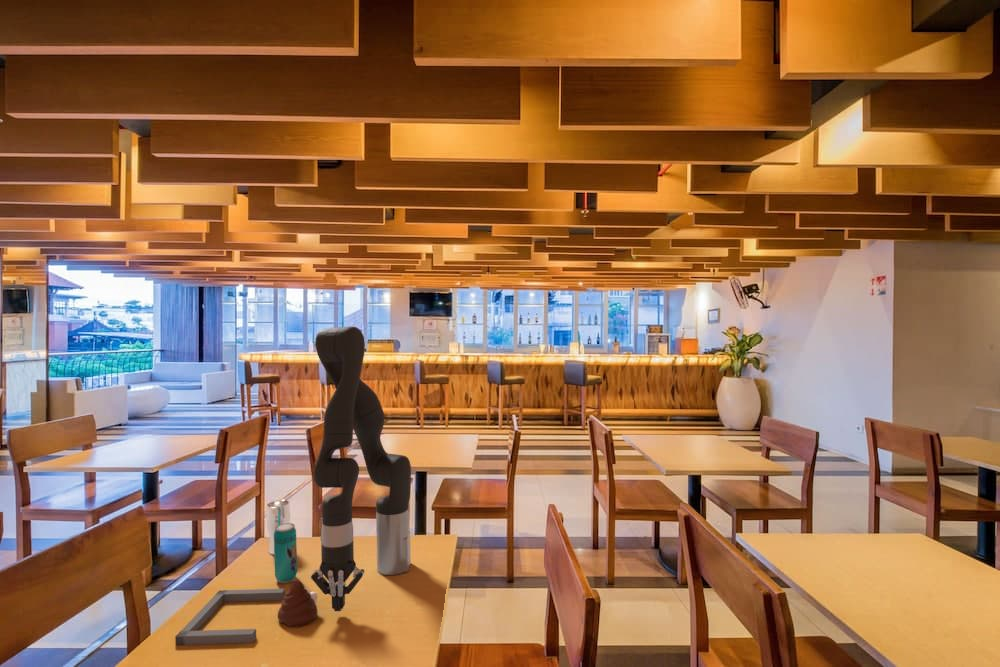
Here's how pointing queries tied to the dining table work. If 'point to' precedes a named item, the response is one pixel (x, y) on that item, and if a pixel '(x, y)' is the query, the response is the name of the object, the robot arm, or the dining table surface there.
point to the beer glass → (276, 518)
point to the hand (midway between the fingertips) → (338, 609)
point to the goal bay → (195, 637)
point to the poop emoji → (298, 606)
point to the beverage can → (285, 552)
